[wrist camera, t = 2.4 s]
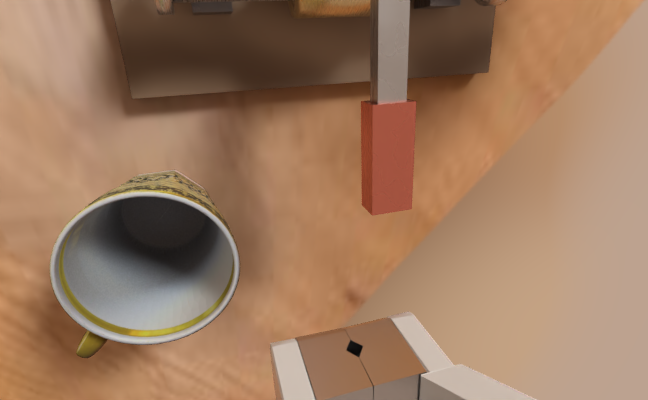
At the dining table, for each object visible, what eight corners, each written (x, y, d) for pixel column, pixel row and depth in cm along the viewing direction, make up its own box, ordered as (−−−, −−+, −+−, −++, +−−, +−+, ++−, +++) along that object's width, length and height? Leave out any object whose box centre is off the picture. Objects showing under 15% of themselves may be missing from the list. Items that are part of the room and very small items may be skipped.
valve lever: (344, -75, 19) (376, -102, 16) (393, -74, 20) (434, -100, 16) (350, 194, 25) (374, 219, 21) (388, 189, 25) (418, 212, 22)
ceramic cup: (145, 120, 29) (118, 154, 20) (254, 195, 33) (273, 250, 24) (45, 254, 30) (-22, 342, 21) (163, 309, 34) (149, 401, 25)
